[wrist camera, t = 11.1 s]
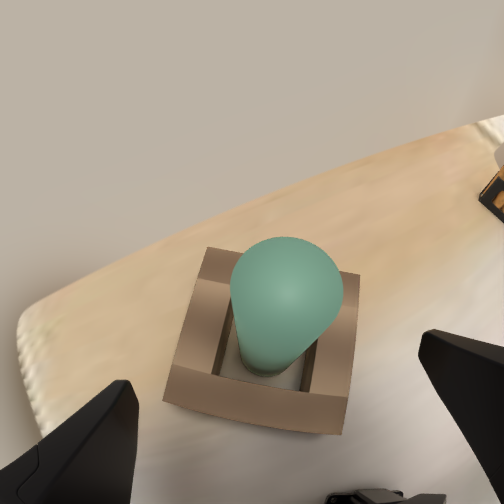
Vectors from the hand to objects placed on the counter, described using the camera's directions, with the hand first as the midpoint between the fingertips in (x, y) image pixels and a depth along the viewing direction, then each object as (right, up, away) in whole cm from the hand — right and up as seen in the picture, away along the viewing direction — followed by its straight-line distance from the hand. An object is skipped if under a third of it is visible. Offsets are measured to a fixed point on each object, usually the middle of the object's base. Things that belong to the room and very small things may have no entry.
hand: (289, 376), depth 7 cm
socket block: (0, -4, +13) cm, 14 cm away
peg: (0, -4, +13) cm, 14 cm away
